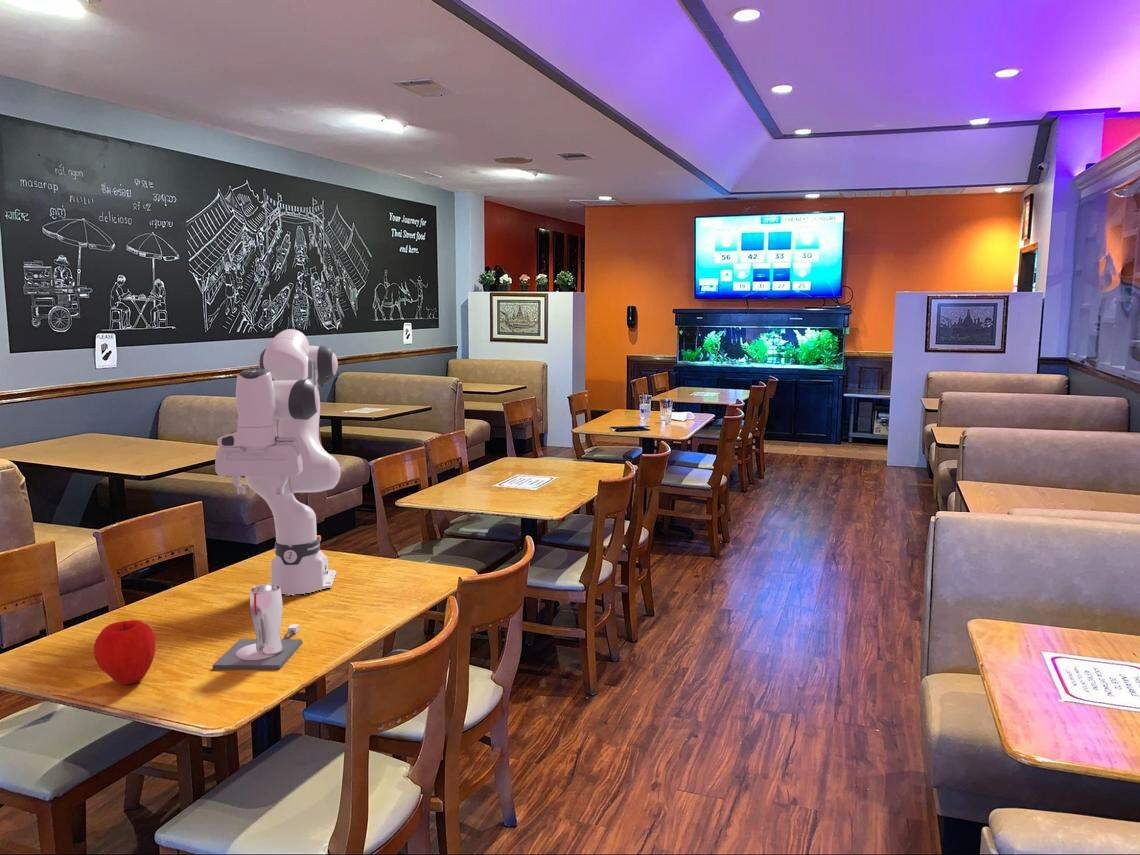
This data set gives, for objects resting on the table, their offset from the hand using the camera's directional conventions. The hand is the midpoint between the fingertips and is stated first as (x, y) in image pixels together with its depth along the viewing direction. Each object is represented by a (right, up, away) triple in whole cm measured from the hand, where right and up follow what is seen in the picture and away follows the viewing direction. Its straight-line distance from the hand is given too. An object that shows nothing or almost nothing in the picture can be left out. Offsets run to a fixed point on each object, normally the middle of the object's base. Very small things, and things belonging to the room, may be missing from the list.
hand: (261, 493), depth 205 cm
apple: (-20, -39, -22) cm, 49 cm away
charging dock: (+3, -36, -5) cm, 37 cm away
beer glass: (+5, -36, -9) cm, 37 cm away
